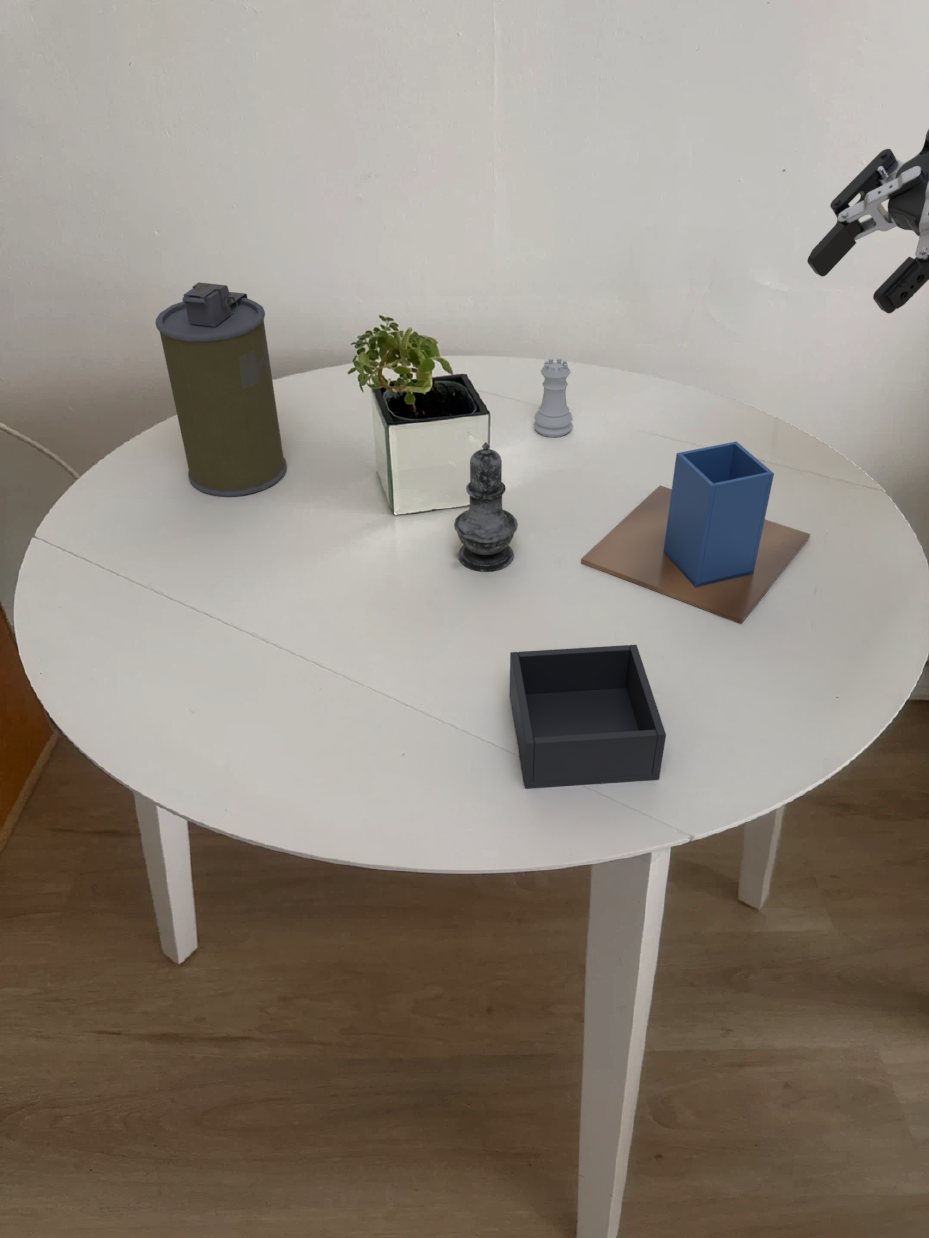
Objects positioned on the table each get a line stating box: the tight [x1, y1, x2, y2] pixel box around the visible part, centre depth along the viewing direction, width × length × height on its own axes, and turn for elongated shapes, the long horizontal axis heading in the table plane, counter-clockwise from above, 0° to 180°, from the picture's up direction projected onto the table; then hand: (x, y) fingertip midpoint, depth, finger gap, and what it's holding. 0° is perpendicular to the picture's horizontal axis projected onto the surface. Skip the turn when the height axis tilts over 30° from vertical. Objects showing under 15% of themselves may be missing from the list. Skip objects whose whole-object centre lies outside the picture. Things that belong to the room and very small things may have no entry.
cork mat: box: [580, 485, 811, 625], centre depth 94 cm, size 16×16×1 cm
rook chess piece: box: [533, 358, 574, 438], centre depth 111 cm, size 4×4×8 cm
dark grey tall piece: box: [453, 442, 519, 573], centre depth 91 cm, size 6×6×12 cm
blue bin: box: [663, 441, 775, 587], centre depth 89 cm, size 6×6×10 cm
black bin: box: [509, 644, 667, 789], centre depth 74 cm, size 10×10×5 cm
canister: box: [155, 282, 288, 497], centre depth 101 cm, size 11×10×20 cm
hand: (845, 287), depth 79 cm, fingers open, 8 cm apart
